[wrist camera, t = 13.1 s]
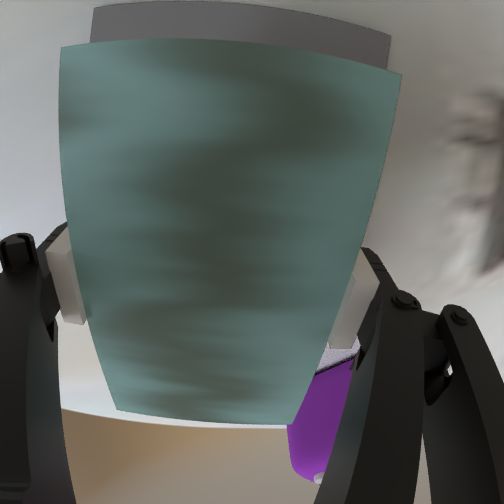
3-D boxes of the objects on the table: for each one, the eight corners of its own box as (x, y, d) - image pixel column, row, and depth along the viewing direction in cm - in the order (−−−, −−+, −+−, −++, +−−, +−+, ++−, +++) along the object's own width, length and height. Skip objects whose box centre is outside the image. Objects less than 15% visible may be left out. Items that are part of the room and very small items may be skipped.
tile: (116, 409, 13) (60, 47, 5) (129, 361, 15) (107, 50, 8) (292, 424, 13) (402, 75, 6) (285, 374, 16) (359, 72, 9)
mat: (107, 301, 23) (105, 305, 22) (97, 8, 12) (94, 7, 12) (318, 320, 24) (319, 324, 24) (387, 36, 14) (390, 35, 13)
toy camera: (431, 365, 29) (466, 442, 20) (326, 423, 33) (340, 499, 24) (393, 314, 24) (440, 416, 16) (266, 391, 29) (273, 487, 20)
